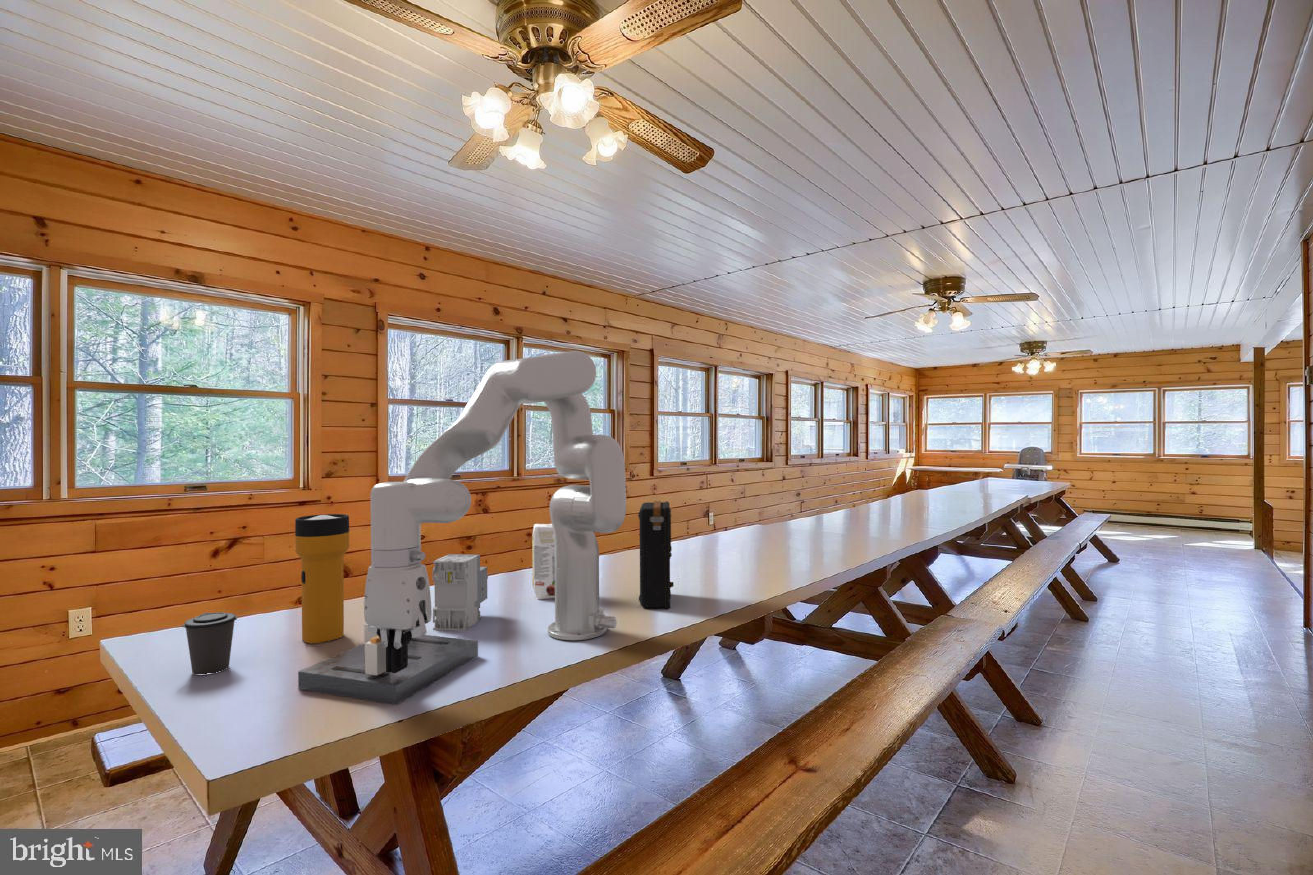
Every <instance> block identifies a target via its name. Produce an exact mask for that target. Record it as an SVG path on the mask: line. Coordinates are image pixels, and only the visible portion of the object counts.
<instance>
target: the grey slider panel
mask: <svg viewBox="0 0 1313 875" xmlns="http://www.w3.org/2000/svg"><path fill="white" fill-rule="evenodd" d="M478 657H479V641H478V640H474V639H465V638H456V637H447V636H439V635H431V634H425V635H423V636H421V637H416V638H413V639H412V641H411V643H409V644H408V666H407V667H406V668H405V669H403V670H401V671H399V672H397V673H392V672H390V673H389V672H386V671H385V672H383V673H381V674H379V675H370V674H365V642H364V643H362V644H359V645H357V646H355V647H353V648H350V649H348V650H345V651H343V652H341V653H339V654H336V655H334V656H331V657H329V658H326V659H324V660H322V661H319V662H318V663H315V664H312V665H310V666H307V667H305V668H303V669H300V670H299V671H298V672H297V674H298V678H297V680H298V681H297V682H298V683H297V684H298V685H297V686H298V687H297V689H298V690H300V689H301V690H300V691H308V692H313V691H315V692H314V693H319V694H327V695H332V696H339V697H344V696H346V697H345V698H351V697H352V699H357V698H358V699H359V700H364V701H370V702H377V703H382V704H390V705H398V704H400V703H401V702H403V701H405V700H406V699H408V698H410V697H411V696H413V695H415V694H416V693H418V692H420V691H422V690H424V689H425V688H427V687H428V686H430V685H432V684H433V683H436V681H439V680H441V679H443V677H446V676H448V675H449V674H450V673H452V672H454V671H456V670H457V669H459V668H461V667H462V666H465V665H466V664H467V663H469V662H471V661H473V660H474V659H477V658H478Z"/></svg>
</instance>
